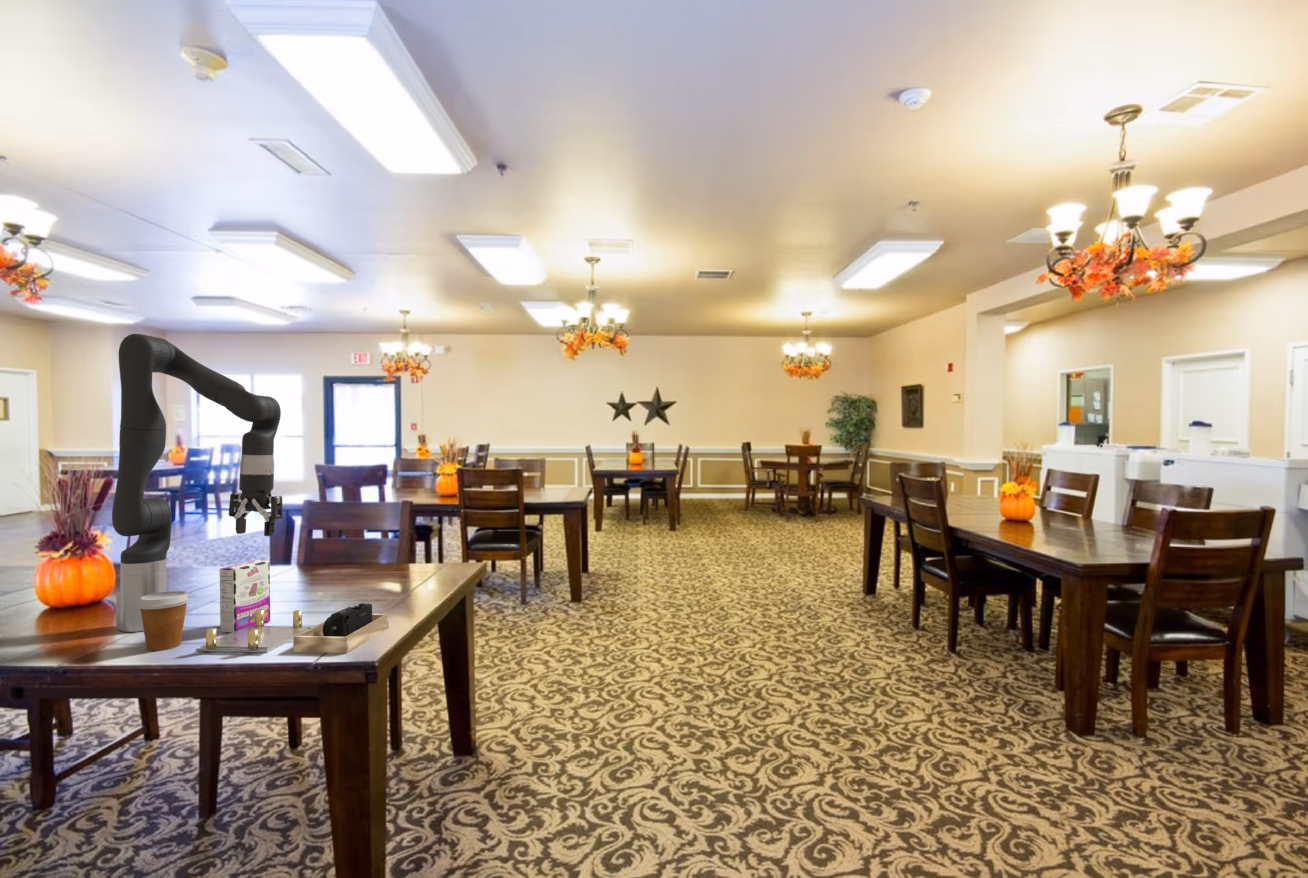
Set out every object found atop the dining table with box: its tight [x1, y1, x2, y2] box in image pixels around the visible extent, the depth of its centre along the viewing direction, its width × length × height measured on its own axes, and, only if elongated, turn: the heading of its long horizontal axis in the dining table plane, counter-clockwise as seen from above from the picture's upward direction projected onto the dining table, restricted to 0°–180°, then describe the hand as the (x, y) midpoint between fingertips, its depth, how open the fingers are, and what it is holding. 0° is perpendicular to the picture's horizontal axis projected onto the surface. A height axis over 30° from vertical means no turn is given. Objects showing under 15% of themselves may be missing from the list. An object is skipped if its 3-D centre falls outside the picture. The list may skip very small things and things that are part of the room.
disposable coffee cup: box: [138, 590, 190, 652], centre depth 146 cm, size 10×10×12 cm
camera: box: [323, 602, 373, 637], centre depth 152 cm, size 14×7×8 cm, turn 171°
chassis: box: [194, 609, 312, 654], centre depth 150 cm, size 16×18×5 cm
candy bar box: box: [219, 559, 271, 634], centre depth 161 cm, size 11×5×16 cm, turn 168°
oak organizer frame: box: [292, 613, 390, 654], centre depth 151 cm, size 13×20×4 cm, turn 177°
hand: (254, 534), depth 161 cm, fingers open, 8 cm apart
